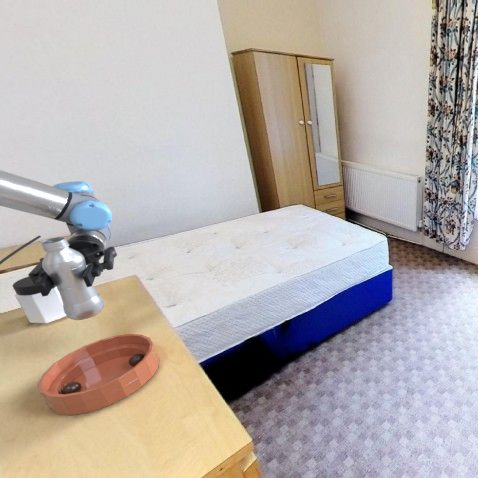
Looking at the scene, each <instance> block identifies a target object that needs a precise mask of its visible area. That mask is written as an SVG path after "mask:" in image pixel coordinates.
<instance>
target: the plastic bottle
mask: <svg viewBox="0 0 478 478" xmlns="http://www.w3.org/2000/svg"><path fill="white" fill-rule="evenodd" d="M67 240H68V239H66V237H65V236H56V237H50V238H47V239H43V240H42V241H41V242H40V245H41V247H42V250H43V251H44V252H46V253H45V256H44V257H43V258H44V259H43V262H42V267H43V269H44V270H45V272H46V273H47V274H48V276H49V277H50V278H51V279H52V281H53V282H54V284H55V286H56V287H57V289H58V291H59V293H60V296H61V299H62V302H63V308H64V312H65V314H66V315H67V316H66V317H67V318H68V319H70V320H73V321H83V320H87V319H90V318H92V317H96V316H97V315H99V314H100V313H102V311H103V310H104V308H105V301H104V299H103V297H102V296H101V295H100V294H99V292H98V291H97V289H96V288H95V286H94V283H93V284H92V286H91V287H87V286H86V284H85V281H84V279H83V274H84V272H85V270H86V268H87V265H86V262H85V258H84V256H83V255H82V254H81V253H80V252H78V251H76V250H74V249H71V248H69V247H68V246H69V243H68V242H67Z"/></svg>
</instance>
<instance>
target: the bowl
mask: <svg viewBox="0 0 478 478" xmlns="http://www.w3.org/2000/svg"><path fill="white" fill-rule="evenodd" d="M135 354H143V355H144V356H145V357H144V358H143V360H142V361H140V362H139V363H138V364H137V365H136V366H135V367H132V366H130V365H129V359H130V358H131V357H132V356H133V355H135ZM159 365H160V357H159V355H158V352H157V350H156V346H155V345H154V342H153V341H152V339H151V337H149V336H147V335H144V334H141V333H127V334H126V333H125V334H119V335H113V336H109V337H105V338H101V339H99V340H96V341H93V342H90V343H88V344H85V345H83V346H81V347H79V348H77V349H75V350H73V351H71V352H70V353H68V354H66V355H65V356H63V357H61V358H60V359H59V360H57V361H55V362H54V363H53V364H52V365H51V366H50V367H48V369H46V370H45V372H44V373H43V374H42V375H41V376H40V379H39V381H38V383H37V386H38V391H39V393H40V395H41V396H42V398H43V400H44V401H45V403H46V404H47V406H48V408H49V410H51V411H53V413H56V414H57V415H64V416H76V415H82V414H88V413H92V412H95V411H98V410H100V409H103V408H106V407H109V406H111V405H113V404H115V403H117V402H119V401H121V400H123V399H125V398H127V397H128V396H130V395H132V394H133V393H135V392H136V391H137V390H139V389H141V388H142V387H143V386H145V384H146V383H147V382H148V381H150V379H152V377H154V375H155V373H156V371H158V368H159ZM70 382H79V383H80V384H81V385H82V389H81V391H80V392H77V393H71V394H61V389H62V388H63V386H64V385H66V384H67V383H70Z"/></svg>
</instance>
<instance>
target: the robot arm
mask: <svg viewBox="0 0 478 478" xmlns="http://www.w3.org/2000/svg"><path fill="white" fill-rule="evenodd" d="M0 207H4V208H8V209H13V210H16V211H20V212H24V213H28V214H30V215H36V216H40V217H44V218H46V219H47V218H48V219H51V220H55V221H58V222H62V223H65V224H66V226H67V229H68V231H69V234H70V236H69V237H68V239H66V240H67V242H68V243H69V246H68V247H69V248H71V249H74V250H76V251H78V252H80V253H81V254H82V255H83V256H84V258H85V262H86V267H87V268H86V270H85V272H84V274H83V279H84V281H85V284H86V286H87V287H91V286H92V284H93V285H94V282H95V279H96V278H97V277H98V278H99V277H100V276H101V275H102V273H103V272H104V270H106V271H111V270H113V269H114V264H115V258H116V257H117V256H118V253H117V251H116V248H115V246H109V247H107V245H108V242H109V241H110V239H111V235H112V231H111V230H112V229H111V227H110V224H111V223H112V221H113V212H112V211H111V209H110V208H109V206H108V205H107V204H105V203H104V202H102V201H101V200H99V199H98V198H97V197H96V195H95V192H94V190H93V188H92V187H91V184H90V183H88V181H87V182H86V181H81V180H80V181H65V182H60V183H56V184H53V185H49V184H46V183H43V182H40V181H37V180H33V179H30V178H27V177H24V176H20V175H18V174H14V173H11V172H8V171H5V170H3V169H0ZM40 238H42V236H41V235H38V236H36V237H33V238H32V239H31V240H29V241H28V242H26V243H25V244H23V245H21V246H20V247H18V248H16V249H15V250H14V251H12V252H11V253H9V254H7V255H6V256H4V257H3V259H1V260H0V265H2V264H3V263H4V262H6V261H7V260H9V259H10V258H11V257H13V256H14V255H16V254H17V253H18V252H20V251H22V250H23V249H25V248H26V247H28V246H29V245H31V244H33V243H34V242H36V241H37V240H39V239H40ZM102 257H103V260H102V261H103V262H100V260H101V258H102ZM43 259H44V257H41V258H39V262H38V263H37V265H35V267H33V268H32V269H31V271H29V273H28V274H27V276H28V277H30V279H31V281H32V283H33V284H37V287H38V289H39V290H40V292H41V294H42V296H48V294H49V293H50V291H51V289H52V288H53V286H54V282H53V281H52V279H51V278H50V277H49V276H48V274H47V273H46V272H45V270H44V269H43V267H42V262H43Z"/></svg>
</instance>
